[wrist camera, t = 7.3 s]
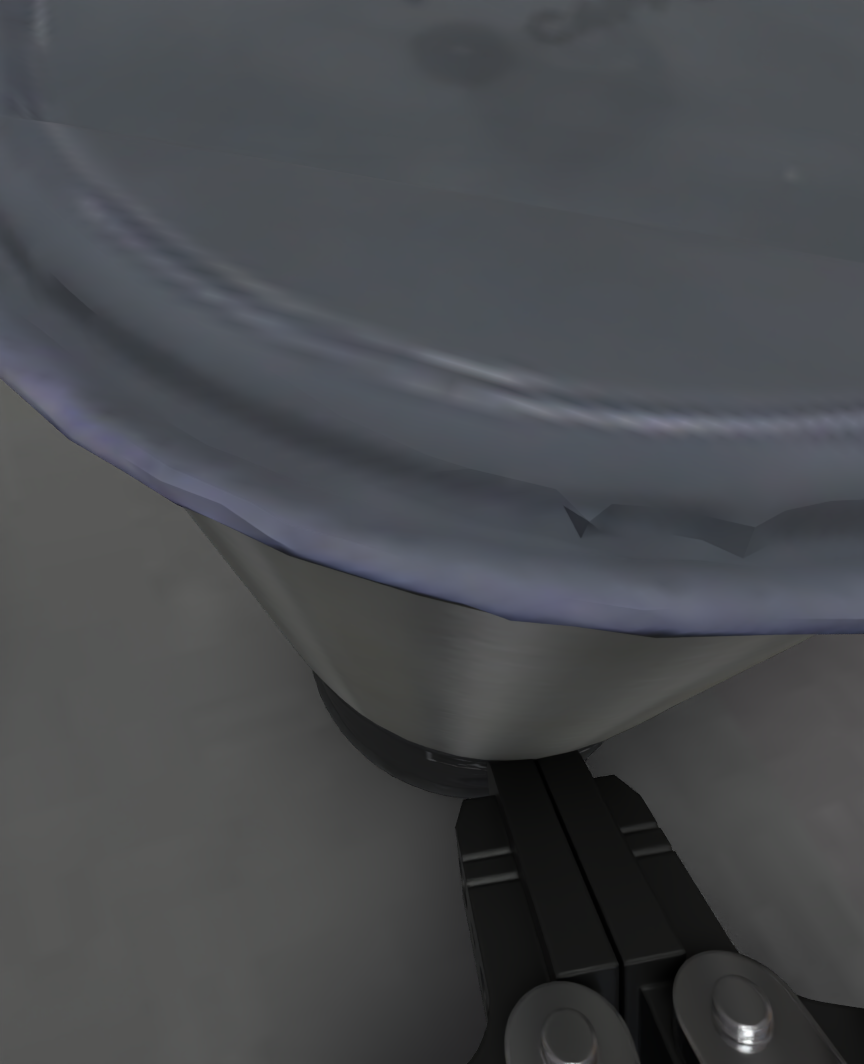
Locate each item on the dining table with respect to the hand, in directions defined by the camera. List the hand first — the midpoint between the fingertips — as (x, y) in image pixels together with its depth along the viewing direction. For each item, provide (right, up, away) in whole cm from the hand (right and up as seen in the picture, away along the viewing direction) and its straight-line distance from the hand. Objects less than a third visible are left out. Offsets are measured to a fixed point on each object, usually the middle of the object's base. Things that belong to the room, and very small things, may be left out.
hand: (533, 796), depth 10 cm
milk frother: (0, +5, +9) cm, 10 cm away
